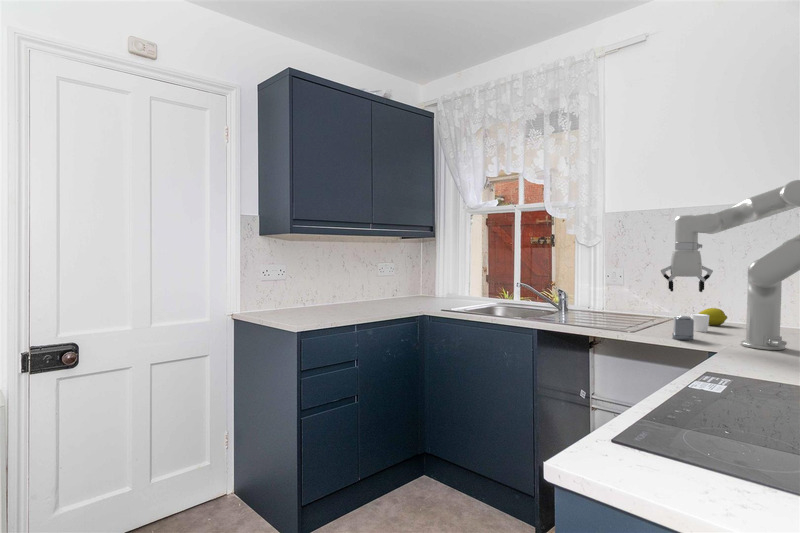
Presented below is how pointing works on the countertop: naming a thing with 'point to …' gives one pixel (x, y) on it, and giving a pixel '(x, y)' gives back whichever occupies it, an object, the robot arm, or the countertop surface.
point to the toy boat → (682, 337)
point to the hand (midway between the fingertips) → (686, 291)
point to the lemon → (715, 316)
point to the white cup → (700, 322)
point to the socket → (683, 325)
